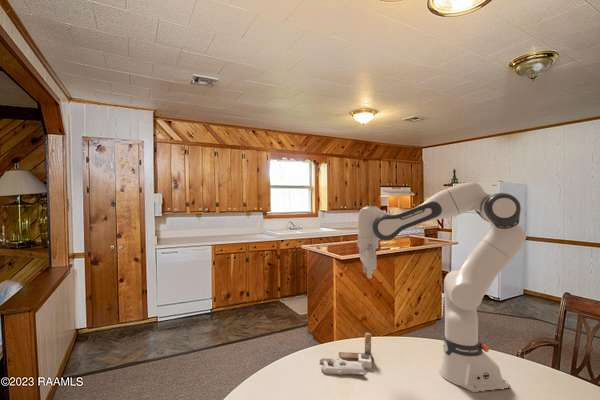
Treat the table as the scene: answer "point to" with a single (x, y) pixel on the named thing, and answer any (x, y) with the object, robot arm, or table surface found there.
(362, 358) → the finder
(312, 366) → the table surface
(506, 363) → the table surface
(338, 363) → the gun
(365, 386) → the table surface
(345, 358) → the bar
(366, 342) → the tan rounded rod
